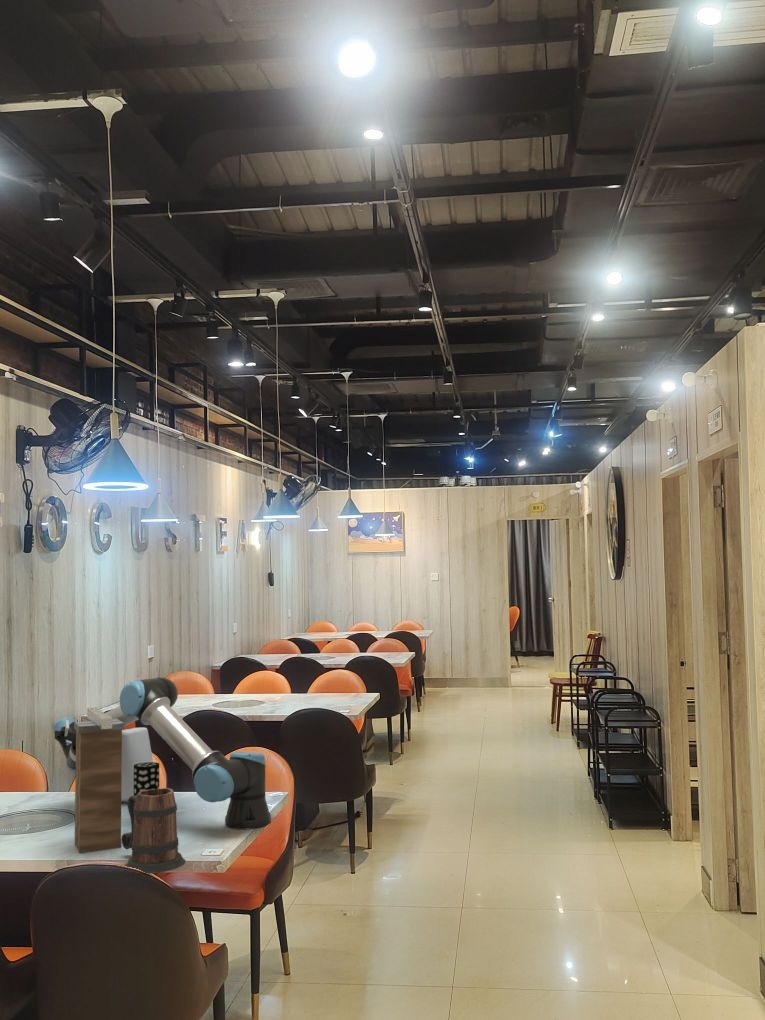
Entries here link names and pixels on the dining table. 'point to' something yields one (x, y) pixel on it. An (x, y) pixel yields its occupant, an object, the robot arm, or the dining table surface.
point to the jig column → (98, 786)
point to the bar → (99, 718)
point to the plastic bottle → (133, 756)
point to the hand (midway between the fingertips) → (89, 722)
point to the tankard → (153, 832)
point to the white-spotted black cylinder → (146, 776)
